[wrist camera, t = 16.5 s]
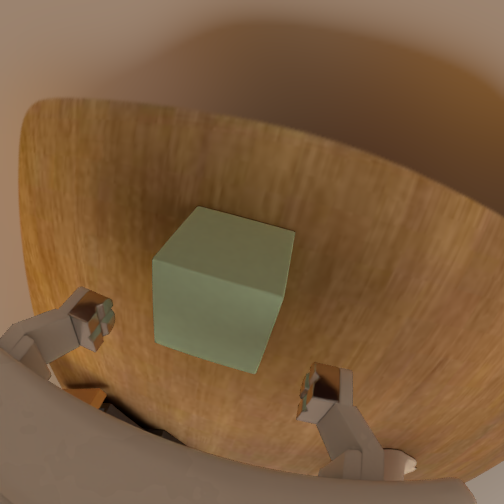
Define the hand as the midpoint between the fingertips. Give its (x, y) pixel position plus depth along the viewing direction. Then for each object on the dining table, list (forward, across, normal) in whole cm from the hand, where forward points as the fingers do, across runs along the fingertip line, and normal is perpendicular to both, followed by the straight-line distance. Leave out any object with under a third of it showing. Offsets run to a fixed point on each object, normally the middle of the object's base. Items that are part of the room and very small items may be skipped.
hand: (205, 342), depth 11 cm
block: (+6, 0, 0) cm, 6 cm away
